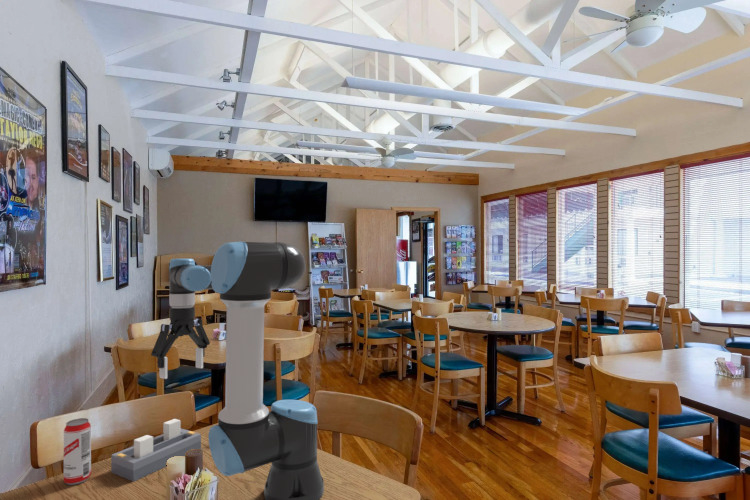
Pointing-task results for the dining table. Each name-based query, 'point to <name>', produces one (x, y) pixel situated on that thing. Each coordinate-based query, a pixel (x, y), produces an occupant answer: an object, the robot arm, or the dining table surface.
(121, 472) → the switch bank
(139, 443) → the tab
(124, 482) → the dining table surface
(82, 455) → the beer can
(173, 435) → the tab
